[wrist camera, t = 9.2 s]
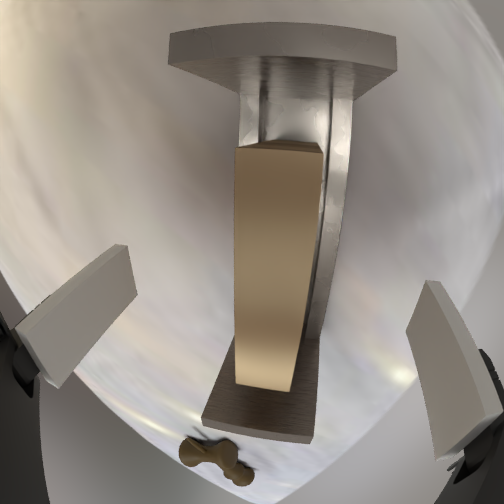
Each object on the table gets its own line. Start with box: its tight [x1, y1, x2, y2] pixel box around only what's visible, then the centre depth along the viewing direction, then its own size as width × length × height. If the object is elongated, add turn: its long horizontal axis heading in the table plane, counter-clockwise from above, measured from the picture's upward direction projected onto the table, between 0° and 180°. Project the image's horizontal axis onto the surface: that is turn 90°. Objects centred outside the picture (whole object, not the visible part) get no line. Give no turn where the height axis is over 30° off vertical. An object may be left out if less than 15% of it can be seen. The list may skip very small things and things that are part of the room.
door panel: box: [234, 140, 324, 392], centre depth 16 cm, size 12×3×10 cm, turn 179°
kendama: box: [179, 438, 255, 486], centre depth 39 cm, size 6×10×20 cm
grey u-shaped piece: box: [168, 22, 397, 444], centre depth 16 cm, size 20×7×12 cm, turn 179°
